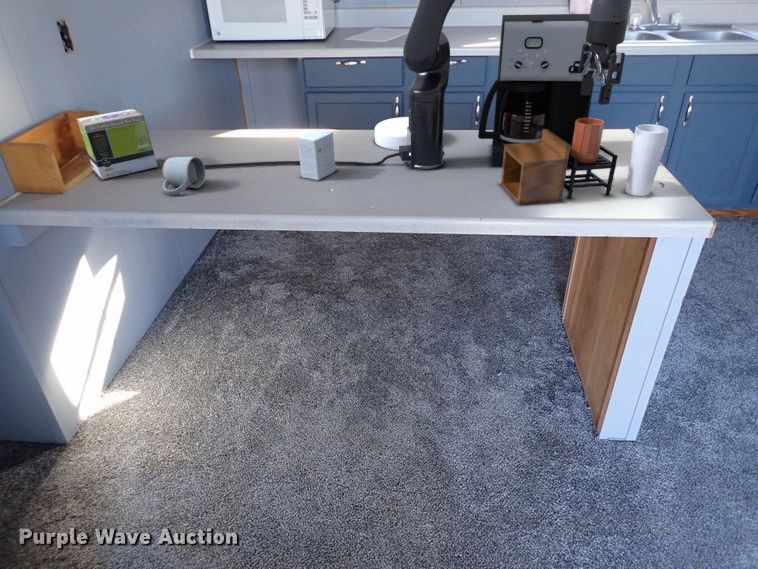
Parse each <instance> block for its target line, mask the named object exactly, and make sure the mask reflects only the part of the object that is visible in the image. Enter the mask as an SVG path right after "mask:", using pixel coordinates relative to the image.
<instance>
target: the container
mask: <svg viewBox="0 0 758 569" xmlns="http://www.w3.org/2000/svg"><path fill="white" fill-rule="evenodd" d="M407 127H409V116H399V117H393V118H388V119H384V120H382V121H380V122H378V123H377V124H375V126H374V142H375V144H376V145H378V146H379V147H381V148H384V149H388V150H389V149H390V150H395V151H399V146H406V145H407Z"/></svg>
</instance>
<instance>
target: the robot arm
mask: <svg viewBox="0 0 758 569" xmlns="http://www.w3.org/2000/svg"><path fill="white" fill-rule="evenodd" d="M455 1H456V0H419V2H418V6H417V9H416V11H415V14H414V17H413V20H412V22H411V25H410V28H409V30H408V32H407V36H406V38H405V40H404V44H403V49H402V56H403V61H404V65H405V66H406V68H407V69H408V70H409V71H411V72H412V73H414V74H415V75H414V80H413V82H412V83H411V85H410V86H409V87H408V117H409V127H407V145H406V146H399V150H398V152H396V153H391V154H389V155H388V154H387V155H386V156H384V157H383V158H382V159H381V160H380V161H375V162H362V161H343V160H342V161H339V160H338V161H337V160H335V165H344V166H345V165H347V166H348V165H349V166H350V165H354V166H366V167H367V166H368V167H369V166H379V165H381V164H382V165H383V163H385V161H387V160H389V159H392V158H395V157H400V160H401V162H407V164H408V166H409V168H410V169H417V170H433V169H438V168H440V167H443V164H444V157H445V151H444V135H445V134H444V132H445V131H444V129H445V103H446V102H445V100H446V91H447V88H448V84H449V78H450V66H451V44H450V40H449V38H448V36H447V35H446V33H445V32H444V31H443V27H444V24H445V21H446V19H447V16H448V14H449V12H450V10H451V9H452V7H453V5H454V4H455ZM631 7H632V0H591V5H590V10H589V14H590V16H589V22H588V28H587V34H586V42H588V43H591V44H583V47H582V53H581V58H580V63H579V69H578V72H579V73H582V74H581V76H582V77H583V79H582V85H581V91H580V94H581V95H590V94H591V90H592V84H593V76H594V75H595V73H596V71H598V76H600V77H601V81H600V83H601V85H600V89H599V94H598V100H597V103H598V104H599V105H602V106H605V105H608V104H610V101H611V96H612V90H613V87H614V86H616V85H620V84H621V81H622V75H623V70H624V63H625V57H626V53H625V52H617V47H618V45H621V44H623V43H624V41H625V38H626V34H627V33H626V32H627V28H628V23H629V18H630V13H631V9H632V8H631ZM585 61H586V62H585ZM584 62H585V64H584ZM583 66H584V67H583ZM615 74H616V75H615ZM263 165H264V166H267V165H301V164H300V160H273V161H271V160H270V161H250V162H249V161H248V162H232V163H212V164H211V163H210V164H204V167H205V169H207V168H224V167H225V168H227V167H242V166H243V167H244V166H245V167H246V166H263Z"/></svg>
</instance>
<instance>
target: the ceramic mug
mask: <svg viewBox="0 0 758 569" xmlns="http://www.w3.org/2000/svg"><path fill="white" fill-rule="evenodd" d="M204 165H205V164H204V162H203V160H201V158H200V157H198V156H172V157H169V158H167V159H166V160H164V162H163V165H162V169H161V170H162V176H163V179H164V182H163V185H162V188H163V190H164V191H165V193H166V194H167V195H169V196H177V195H180V194H181V193H183V192H184V191H186V189H188V188H189V189H200V188H201V187H202V186H203V184H204V183H205V179H206V168H205V167H204ZM169 186H173V187H177V188H174V189H172V190H170V189H168V188H169Z"/></svg>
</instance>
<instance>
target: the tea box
mask: <svg viewBox="0 0 758 569" xmlns="http://www.w3.org/2000/svg"><path fill="white" fill-rule="evenodd" d="M76 122H77V125H78V127H79V130H80V133H81V136H82V137H81V138H82V140H83V142H84V146H85V150H86V152H87V156H88V157H89V161H90V164H91V166H92V165H93V167H94V168H93V167H92V170H93V171H94V173H95V174H97V175H98V177H99V178H100V179H101V180H107V179H112V178H115V177H120V176H124V175H128V174H132V173H137V172H142V171H146V170H150V169H154V168H158V162H157V158H156V155H155V152H154V147H153V144H152V139H151V136H150V133H149V130H148V125H147V122H146V118H145V115H144V114H142V113H141V112H139V111H137V110H135V108H129V109H124V110H118V111H112V112H106V113H101V114H95V115H91V116H90V115H89V116H84V117H79V118H76Z"/></svg>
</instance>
